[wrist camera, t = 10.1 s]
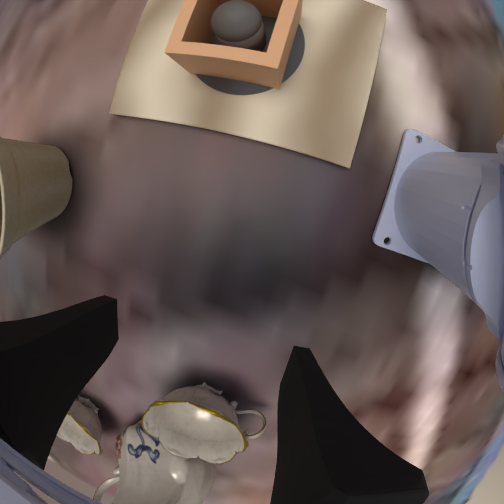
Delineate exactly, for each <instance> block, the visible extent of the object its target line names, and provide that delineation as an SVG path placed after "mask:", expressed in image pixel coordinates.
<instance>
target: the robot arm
mask: <svg viewBox="0 0 504 504" xmlns="http://www.w3.org/2000/svg"><path fill="white" fill-rule="evenodd" d="M416 136H418V137H419V139H420V141H419V143H417V142H416V140H415V137H416ZM496 149H497V152H498V154H496V153H476V152H456V151H454V150H452V149H450V148H449V147H447V146H445V145H443V144H441V143H439V142H438V141H436V140H434V139H432V138H430V137H428V136H426V135H424V134H422V133H420V132H418V131H416V130H414V129H408V130H406V131H405V132H404V134H403V138H402V142H401V146H400V150H399V153H398V157H397V161H396V164H395V168H394V171H393V175H392V178H391V181H390V185H389V188H388V191H387V194H386V198H385V201H384V204H383V207H382V210H381V213H380V216H379V219H378V222H377V224H376V227H375V230H374V233H373V236H372V239H373V242H374V243H375V244H376V245H378V246H380V247H383V248H386V249H389V250H392V251H395V252H398V253H401V254H403V255H406V256H409V257H412V258H415V259H418V260H420V261H423V262H426V263H429V264H431V265H432V266H433V267H435V268H436V269H437V270H438V271H439V272H441V273H442V274H443V275H444V276H445V277H446V278H448V279H449V280H450V281H451V282H452V283H453V284H455V285H456V286H457V287H458V288H459V289H460V290H461V291H462V292H464V293H465V294H466V295H467V296H468V297H469V298H470V299H471V300H472V301H473V302H474V303H476V304H477V305H478V306H479V307H480V308H481V309H482V310H483V312H484V313H485V315H486V319H487V328H488V329H489V330H490V331H491V332H492V333H493V334H494V335H495V336H496V338H497V339H498V340H500V342H499V347H498V351H497V355H496V373H497V377H498V381H499V384H500V386H501V388H502V390H503V392H504V135H503V137H502V140H500V141H498V142H497V145H496ZM386 237H389V241H388V242H387V243H384V239H385V238H386ZM118 339H119V337H118V319H117V299H114V298H111V297H108V296H105V295H104V296H100V297H97V298H93V299H90V300H87V301H84V302H82V303H79V304H76V305H73V306H70V307H67V308H64V309H61V310H58V311H54V312H51V313H48V314H44V315H41V316H37V317H32V318H27V319H22V320H16V321H6V322H0V504H47V503H46V502H45V501H44V500H43V499H42V498H40V497H39V496H38V495H37V494H36V493H35V492H34V491H33V490H32V489H31V487H30V486H29V485H28V484H27V483H26V482H25V481H23V480H22V479H21V478H20V477H19V476H17V475H16V474H15V473H14V472H13V471H15V472H16V473H17V474H18V475H20V476H21V477H22V478H24V479H25V480H26V481H28V482H29V483H30V484H32V485H33V486H35V487H36V488H37V489H39V490H40V491H42V492H44V493H45V494H46V495H48V496H50V497H51V498H53V499H54V500H56V501H57V502H59V503H61V504H101V503H99V502H97V501H95V500H93V499H91V498H89V497H87V496H85V495H83V494H82V493H80V492H78V491H76V490H74V489H72V488H71V487H69V486H67V485H66V484H64V483H62V482H61V481H59V480H57V479H56V478H54V477H52V476H51V475H49V474H48V473H46V472H45V471H43V470H44V468H45V464H46V461H47V458H48V456H49V453H50V450H51V447H52V445H53V442H54V440H55V438H56V435H57V433H58V431H59V429H60V427H61V425H62V423H63V421H64V419H65V417H66V415H67V413H68V411H69V410H70V408H71V406H72V404H73V403H74V401H75V399H76V398H77V396H78V395H79V393H80V392H81V391H82V389H83V388H84V387H85V385H86V384H87V383H88V382H89V380H90V379H91V378H92V377H93V375H94V374H95V373H96V372H97V370H98V369H99V368H100V367H101V365H102V364H103V363H104V362H105V360H106V359H107V358H108V356H109V355H110V353H111V351H112V350H113V348H114V346H115V345H116V343H117V341H118ZM428 496H429V491H428V488H427V484H426V480H425V477H424V474H423V471H422V470H421V469H419V468H417V467H416V466H414V465H412V464H410V463H409V462H407V461H405V460H404V459H402V458H400V457H399V456H398V455H396V454H395V453H393V452H392V451H391V450H389V449H388V448H387V447H385V446H384V445H383V444H382V443H380V442H379V441H378V440H377V439H376V438H375V437H374V436H372V435H371V434H370V433H369V432H368V431H367V430H366V429H365V428H364V427H363V426H362V425H361V424H360V423H359V422H358V421H357V420H356V418H355V417H354V416H353V415H352V414H351V413H350V412H349V410H348V409H347V408H346V407H345V405H344V404H343V403H342V401H341V400H340V399H339V397H338V396H337V394H336V393H335V391H334V390H333V388H332V387H331V385H330V383H329V382H328V380H327V379H326V377H325V375H324V374H323V372H322V370H321V368H320V366H319V365H318V363H317V361H316V359H315V357H314V355H313V354H312V352H311V350H310V349H309V348H304V347H298V346H294V347H293V350H292V353H291V356H290V359H289V361H288V364H287V367H286V370H285V372H284V375H283V378H282V381H281V383H280V390H279V398H278V448H277V464H276V472H275V479H274V485H273V491H272V497H271V503H270V504H423V503H424V502H425V500H426V499H427V498H428Z"/></svg>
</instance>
